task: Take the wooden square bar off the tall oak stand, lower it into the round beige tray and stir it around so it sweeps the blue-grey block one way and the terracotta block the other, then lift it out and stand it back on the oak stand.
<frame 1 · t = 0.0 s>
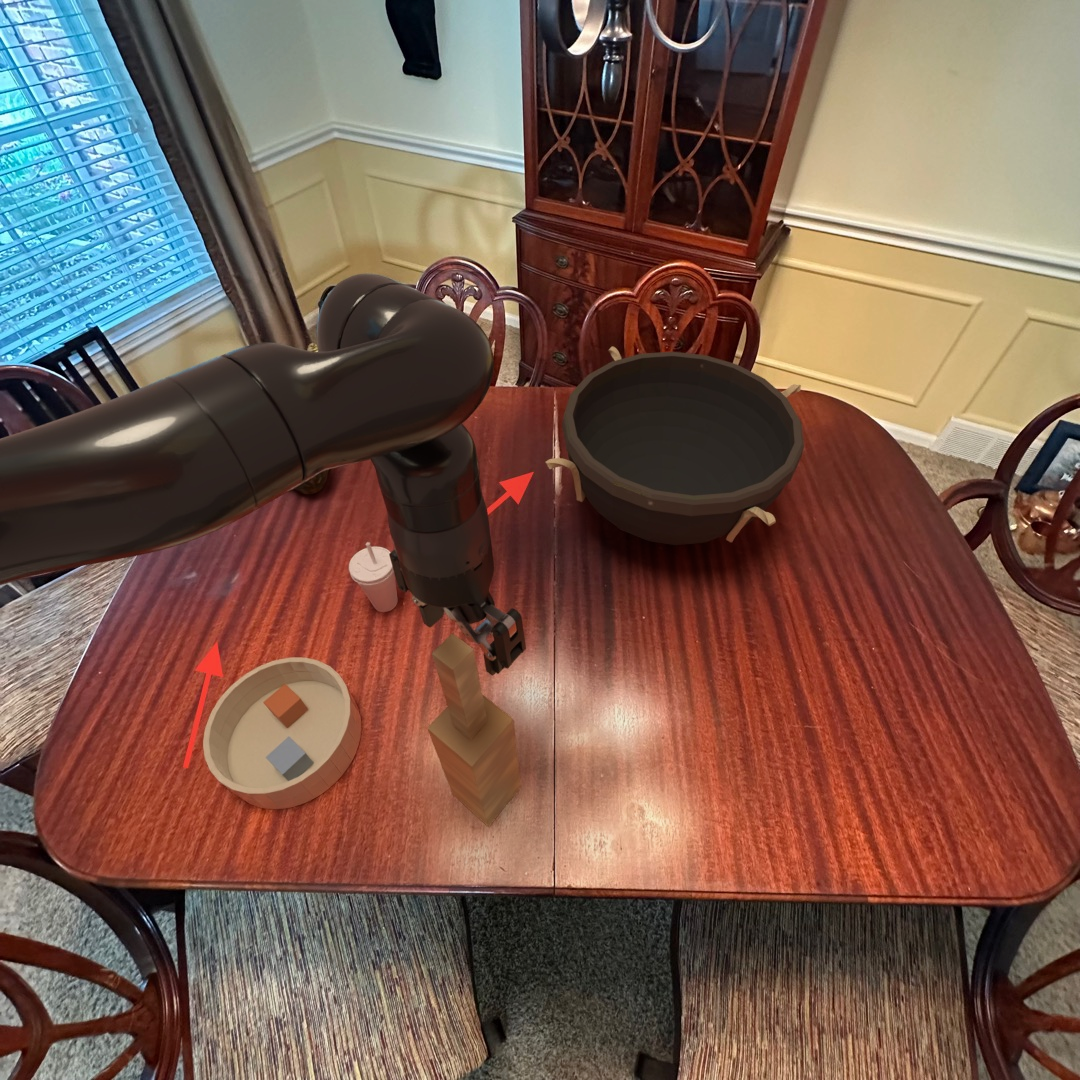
hand: (464, 643, 60), 24 cm above the table, tool pointing down, fingers open, 8 cm apart
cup: (304, 467, 112), on the table
smoothie: (385, 602, 92), on the table
wooden square bar: (470, 723, 59), point 20 cm above the table, touching oak stand
terracotta block: (290, 711, 80), point 1 cm above the table, touching round beige tray
round beige tray: (293, 739, 78), on the table
bluegrey block: (294, 765, 76), point 1 cm above the table, touching round beige tray
oak stand: (486, 790, 74), on the table
bowl: (662, 510, 104), on the table
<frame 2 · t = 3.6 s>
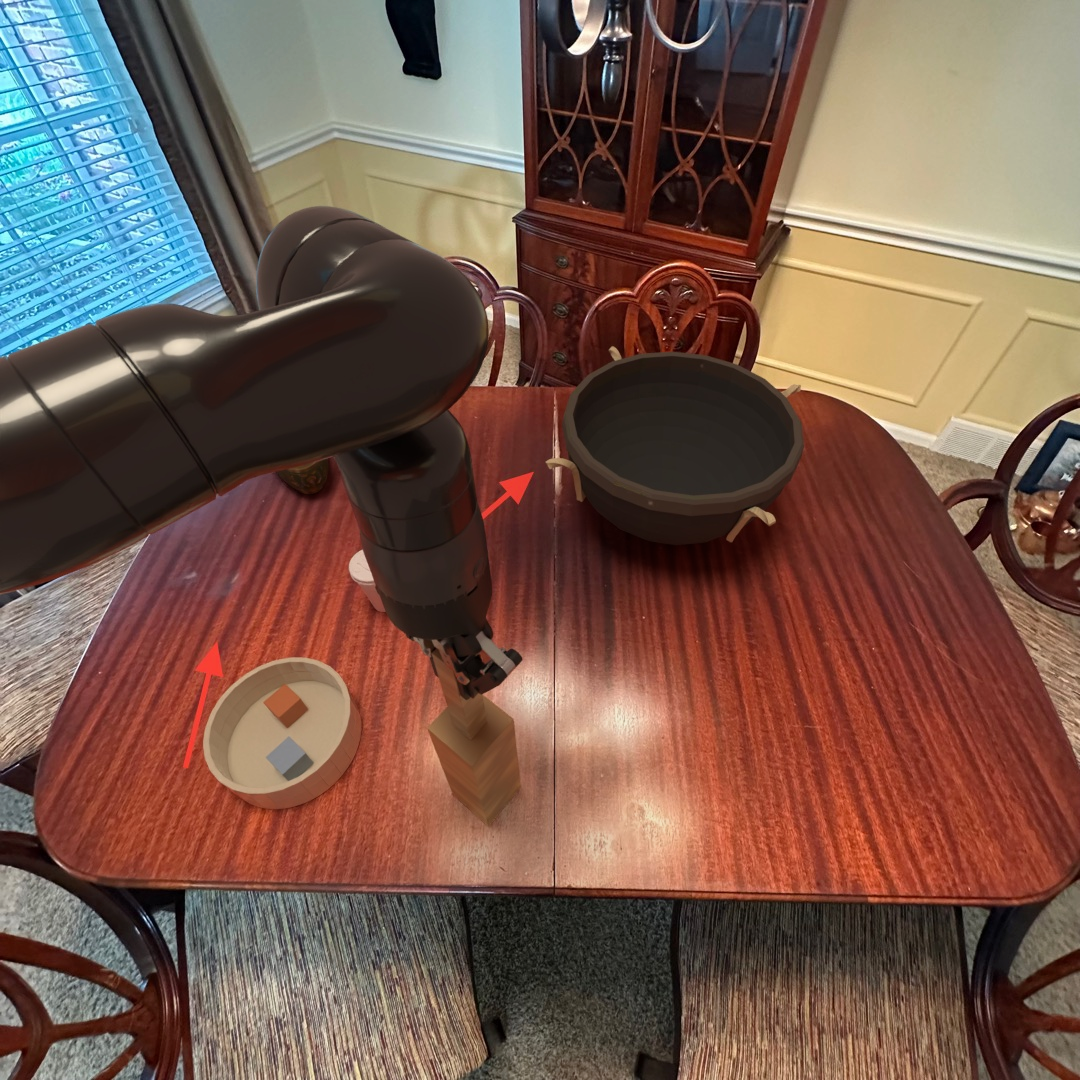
hand: (459, 680, 52), 29 cm above the table, tool pointing down, fingers closed on wooden square bar, 2 cm apart
wooden square bar: (470, 723, 59), point 20 cm above the table, touching gripper, oak stand
everything else where it was.
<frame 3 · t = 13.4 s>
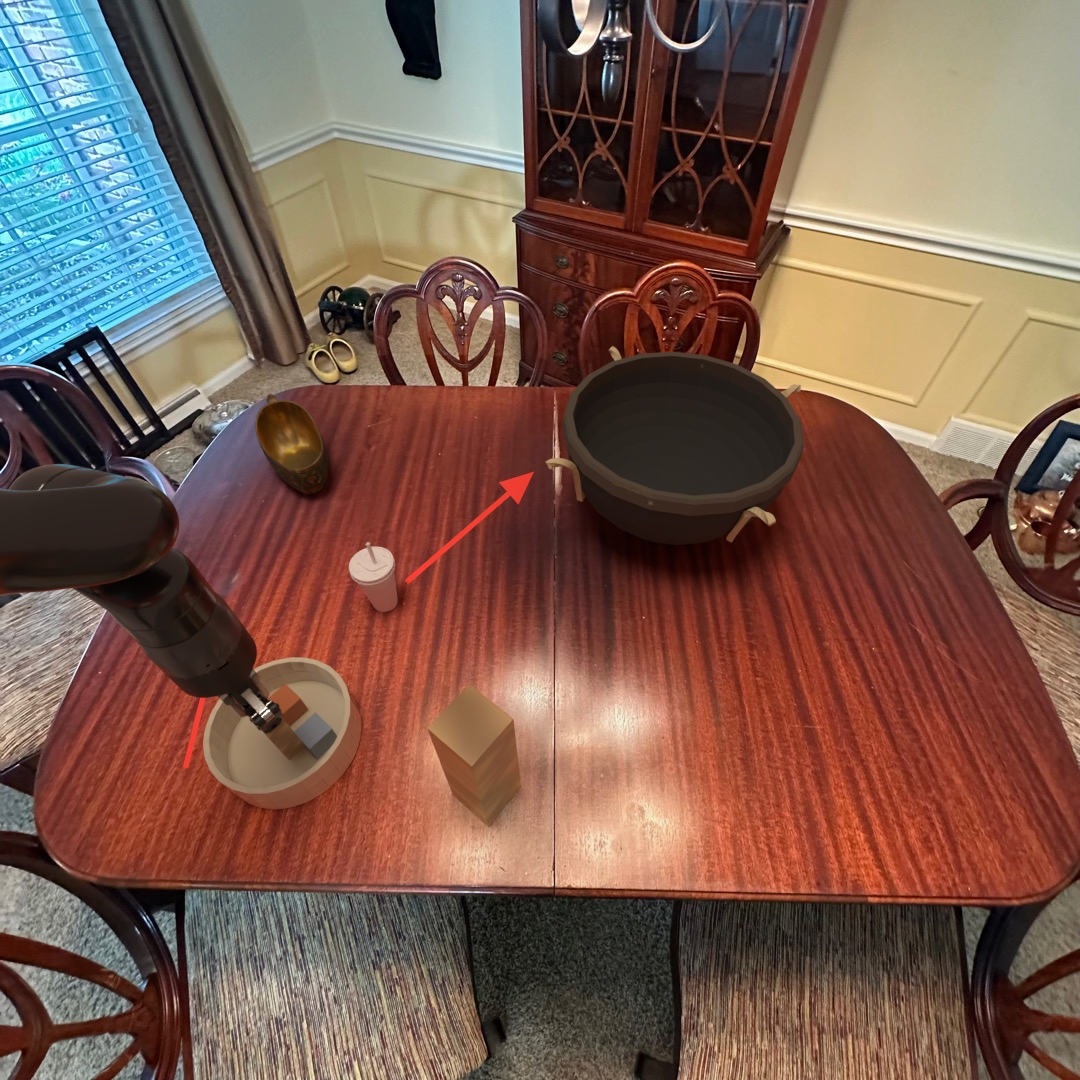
hand: (265, 717, 68), 11 cm above the table, tool pointing down, fingers closed on wooden square bar, 2 cm apart
wooden square bar: (291, 747, 75), point 2 cm above the table, touching gripper
bluegrey block: (320, 740, 78), point 1 cm above the table, touching round beige tray
everything else where it was.
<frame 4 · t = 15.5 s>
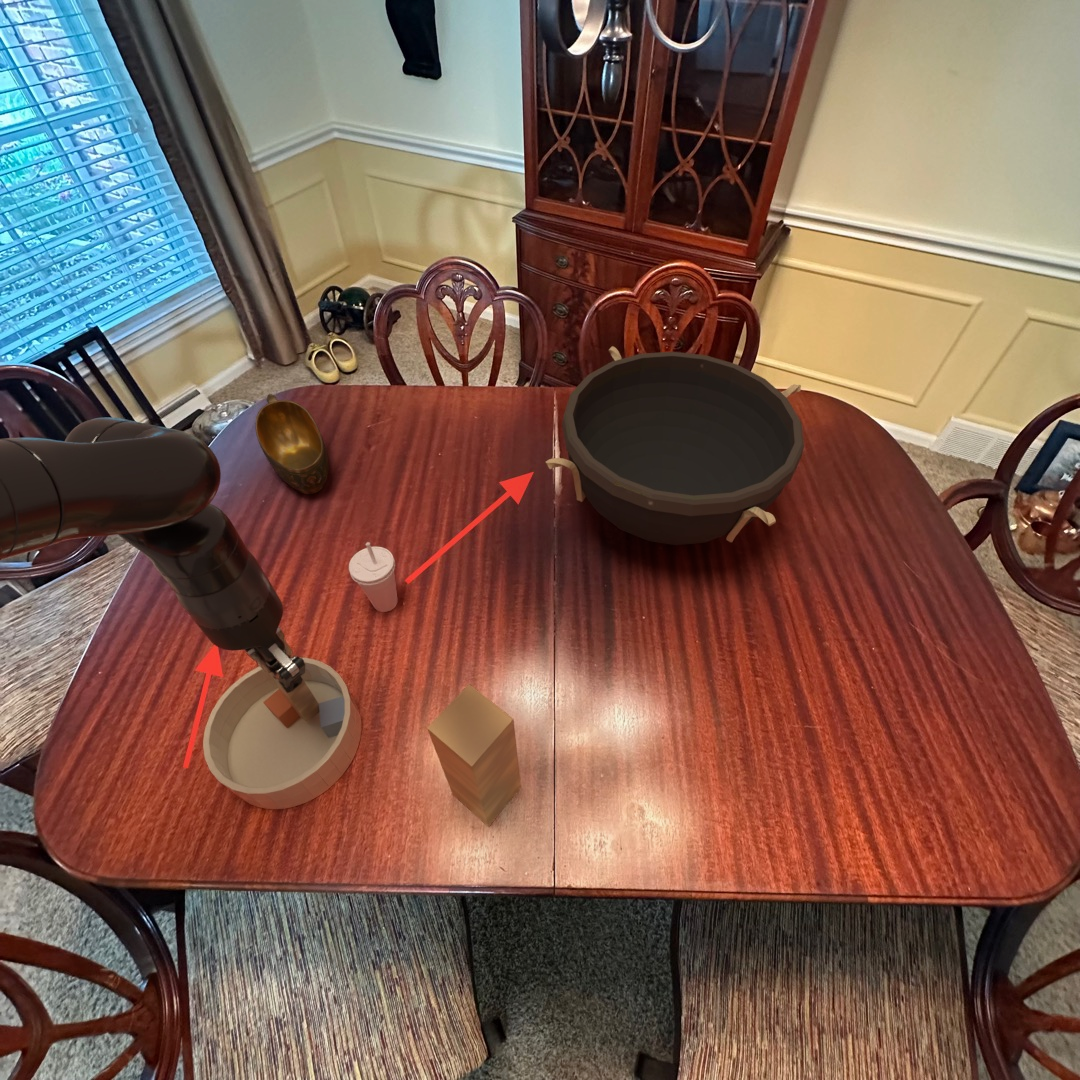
hand: (286, 678, 72), 11 cm above the table, tool pointing down, fingers closed on wooden square bar, 2 cm apart
wooden square bar: (309, 710, 79), point 2 cm above the table, touching bluegrey block, gripper, terracotta block
terracotta block: (290, 711, 80), point 1 cm above the table, touching round beige tray, wooden square bar
bluegrey block: (340, 722, 79), point 1 cm above the table, touching round beige tray, wooden square bar
everything else where it was.
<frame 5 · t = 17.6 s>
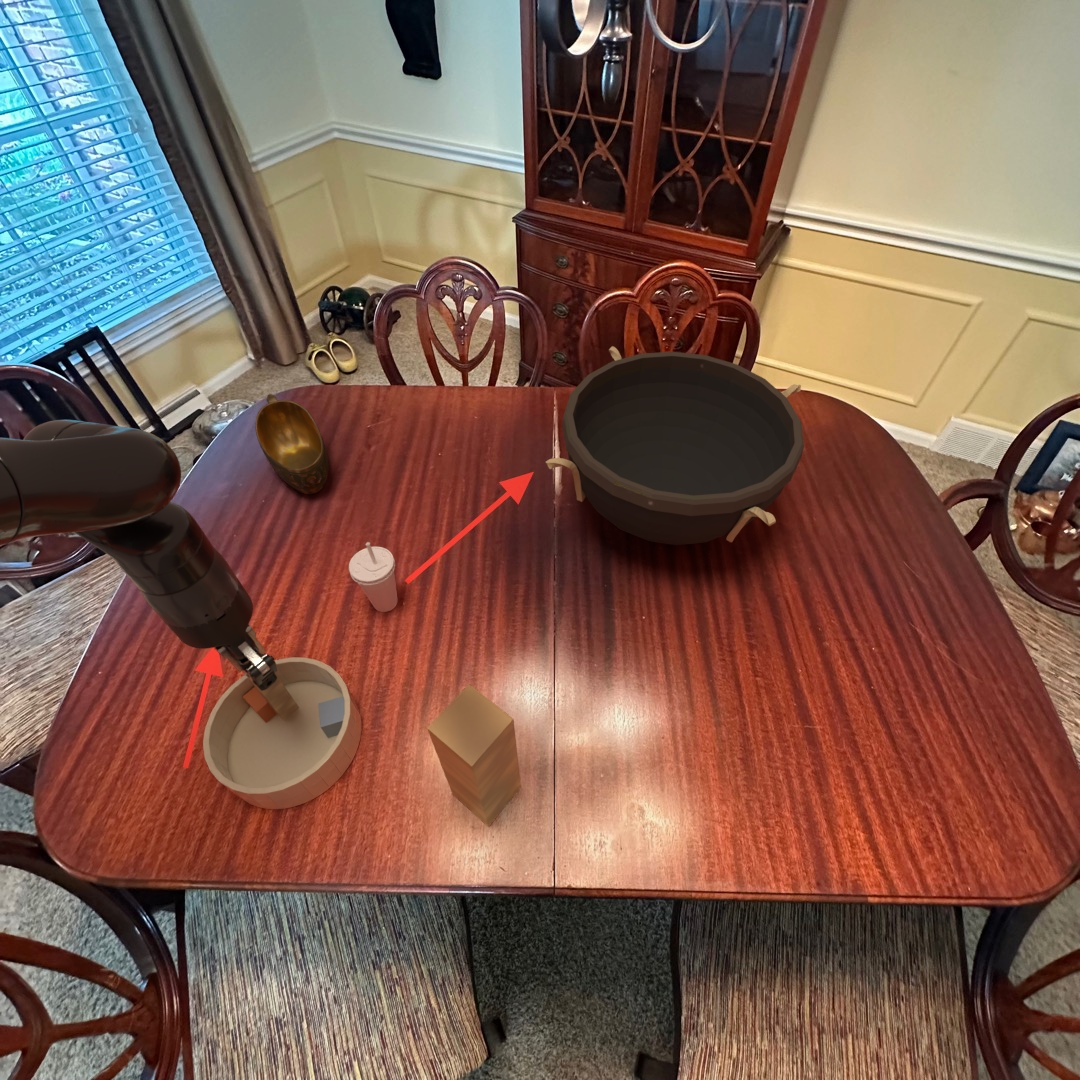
hand: (261, 676, 72), 11 cm above the table, tool pointing down, fingers closed on wooden square bar, 2 cm apart
wooden square bar: (286, 708, 79), point 2 cm above the table, touching gripper, terracotta block
terracotta block: (269, 706, 81), point 1 cm above the table, touching round beige tray, wooden square bar
bluegrey block: (339, 722, 79), point 1 cm above the table, touching round beige tray
everything else where it was.
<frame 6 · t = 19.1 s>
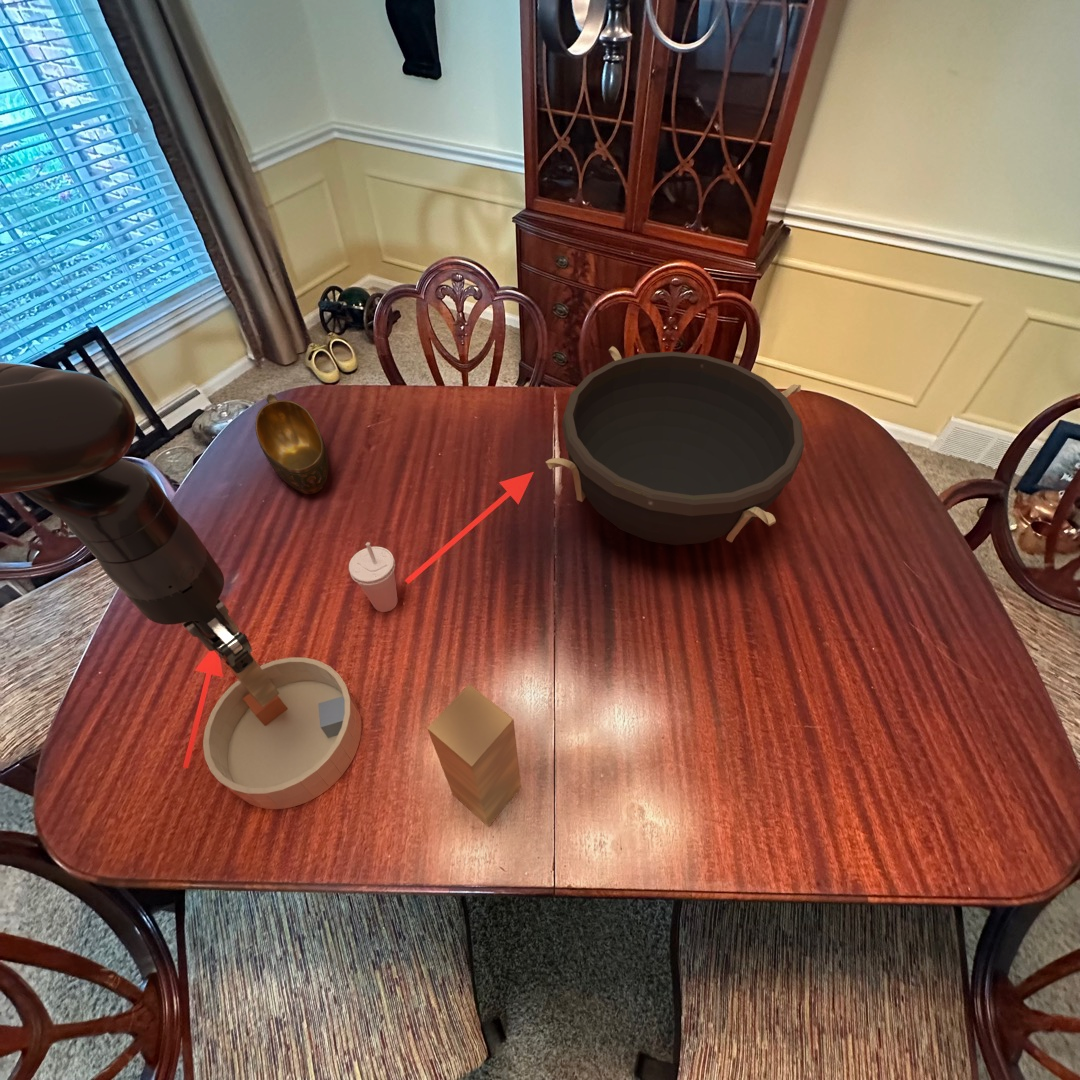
hand: (236, 658, 68), 16 cm above the table, tool pointing down, fingers closed on wooden square bar, 2 cm apart
wooden square bar: (265, 694, 75), point 7 cm above the table, touching gripper
terracotta block: (270, 709, 80), point 1 cm above the table, touching round beige tray
everything else where it was.
when the fingers open (29 cm above the table, at t = 27.3 s): wooden square bar stays where it is, resting on oak stand.
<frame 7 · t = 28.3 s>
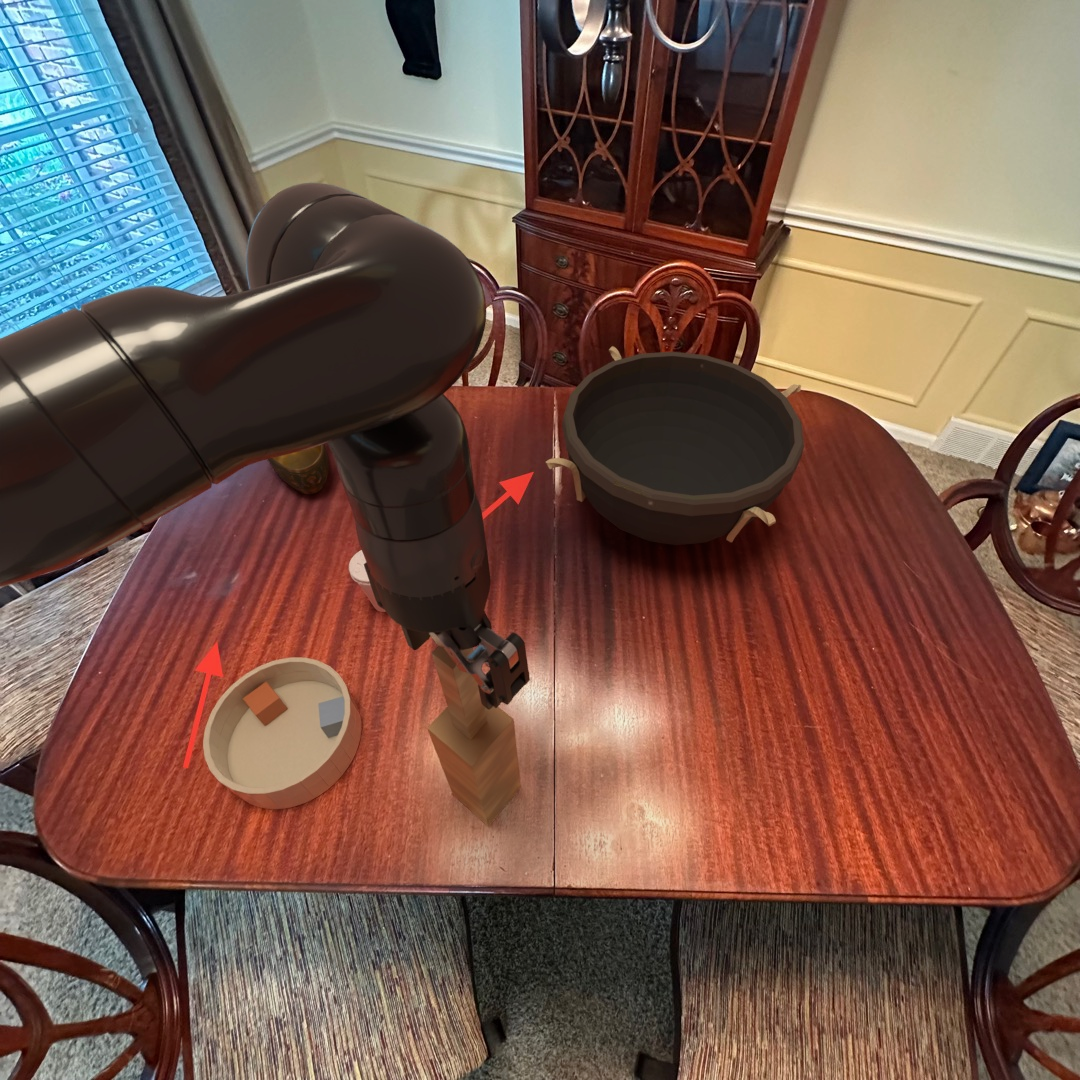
hand: (456, 669, 50), 31 cm above the table, tool pointing down, fingers open, 8 cm apart
wooden square bar: (470, 722, 59), point 20 cm above the table, touching oak stand
everything else where it was.
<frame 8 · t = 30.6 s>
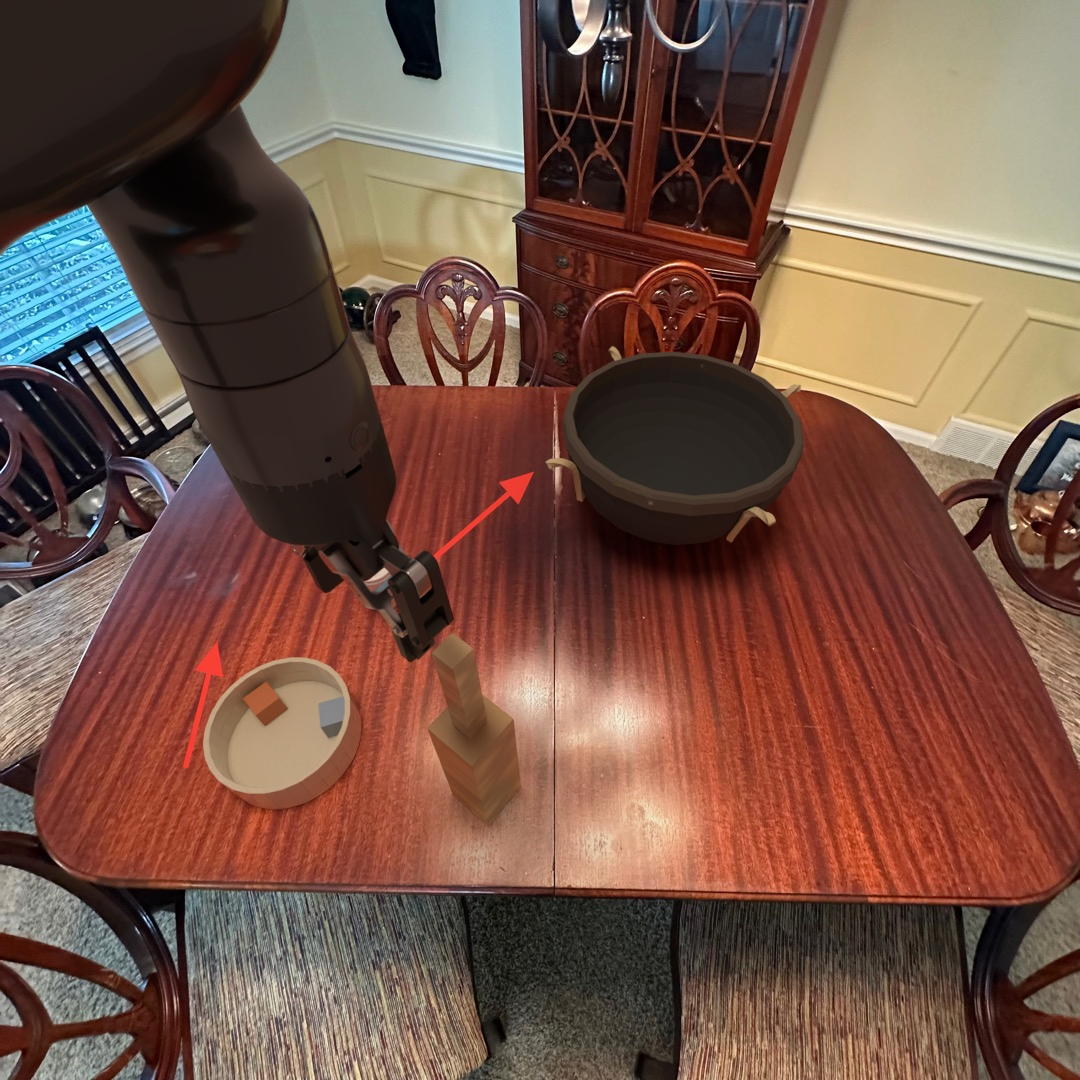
hand: (375, 615, 41), 42 cm above the table, tool pointing down, fingers open, 8 cm apart
nothing on the table moved.
at the end: bluegrey block moved 7.2 cm from its start; bluegrey block inside the target area in the round beige tray (6.1 cm from its centre), point 0.6 cm above the round beige tray's base; terracotta block inside the target area in the round beige tray (5.6 cm from its centre), point 0.6 cm above the round beige tray's base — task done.
